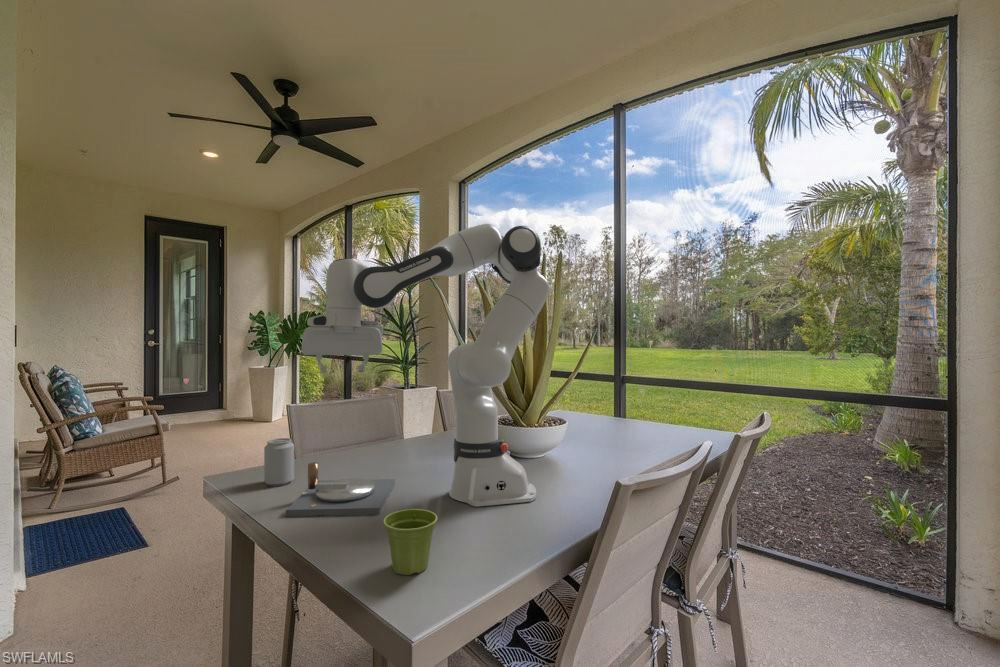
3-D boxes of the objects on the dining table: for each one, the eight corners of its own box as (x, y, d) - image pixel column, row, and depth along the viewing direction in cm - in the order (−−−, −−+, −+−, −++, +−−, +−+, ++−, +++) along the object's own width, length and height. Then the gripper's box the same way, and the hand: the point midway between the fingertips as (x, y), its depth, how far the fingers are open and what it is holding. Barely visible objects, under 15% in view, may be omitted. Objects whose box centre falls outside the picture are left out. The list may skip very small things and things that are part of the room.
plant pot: (400, 551, 88) (400, 506, 88) (445, 558, 85) (445, 511, 85) (372, 576, 79) (372, 525, 79) (422, 584, 76) (422, 532, 76)
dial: (379, 482, 123) (379, 455, 123) (367, 501, 109) (367, 471, 109) (317, 483, 122) (317, 456, 122) (297, 502, 108) (297, 472, 108)
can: (282, 488, 124) (282, 443, 124) (258, 486, 126) (258, 442, 126) (299, 479, 131) (299, 437, 131) (276, 477, 133) (276, 436, 133)
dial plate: (394, 484, 127) (394, 478, 127) (379, 514, 106) (379, 507, 106) (316, 486, 126) (316, 479, 126) (285, 516, 105) (285, 508, 105)
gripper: (381, 321, 128) (380, 370, 128) (302, 319, 120) (301, 372, 120) (385, 320, 123) (384, 372, 123) (301, 318, 115) (301, 374, 115)
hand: (342, 372), depth 121 cm, fingers open, 8 cm apart
